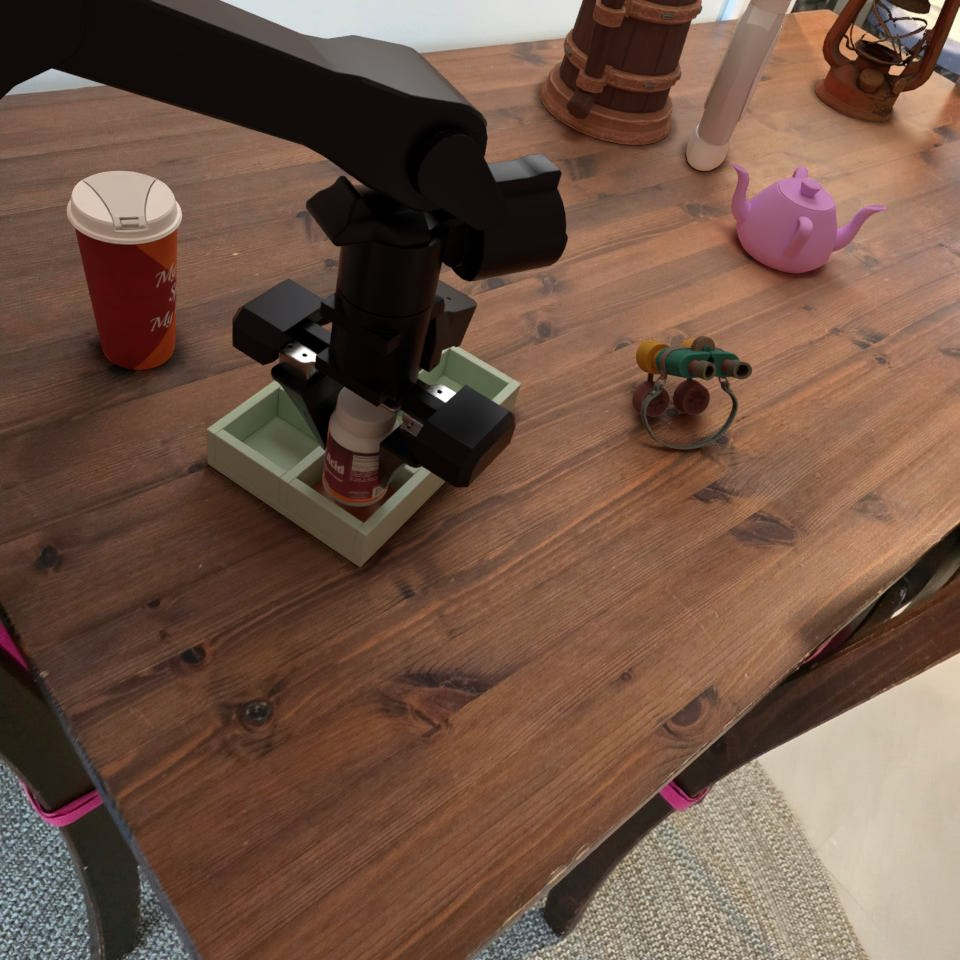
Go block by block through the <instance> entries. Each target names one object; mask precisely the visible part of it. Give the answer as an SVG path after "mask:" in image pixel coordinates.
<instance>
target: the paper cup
mask: <svg viewBox="0 0 960 960" xmlns="http://www.w3.org/2000/svg"><path fill="white" fill-rule="evenodd" d="M66 215H67V219H68V221H69V222H70V224H71V225H72V226H73V228H74V230H75V235H76V240H77V244H78V248H79V253H80V259H81V263H82V267H83V272H84V277H85V280H86V285H87V288H88V289H87V290H88V294H89V299H90V303H91V307H92V312H93V316H94V321H95V325H96V329H97V333H98V337H99V342H100V345H101V349H102V351H103V353H104V356H105V357H106V358H107V360H108V361H109V362H110V363H112V364H114V365H115V366H118V367H121V368H123V369H127V370H132V371H133V370H136V371H144V370H145V371H146V370H150V369H154V368H157V367H159V366H162V365H164V364H165V363H166V362H168V361H169V360H170V359H171V358H172V357H173V354H174V352H175V349H176V348H175V347H176V331H177V289H178V286H177V285H178V276H177V275H178V228H179V226H180V225H181V222H182V219H183V211H182V209H181V206H180V204H179V202H178V201H177V200H176V197H175V195H174V193H173V191H172V190H171V188H170V187H169V186H168V185H167V184H166V183H164V182H163V181H162V180H160V179H158V178H156V177H153V176H150V175H148V174H144V173H141V172H136V171H129V170H111V171H110V170H109V171H102V172H98V173H94V174H92V175H89V176H88V177H85V178H83V179H81V180H80V181H78V182H77V183H76V184H75V186H74V188H73V189H72V191H71V195H70V199H69V201H68V203H67V206H66Z"/></svg>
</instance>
